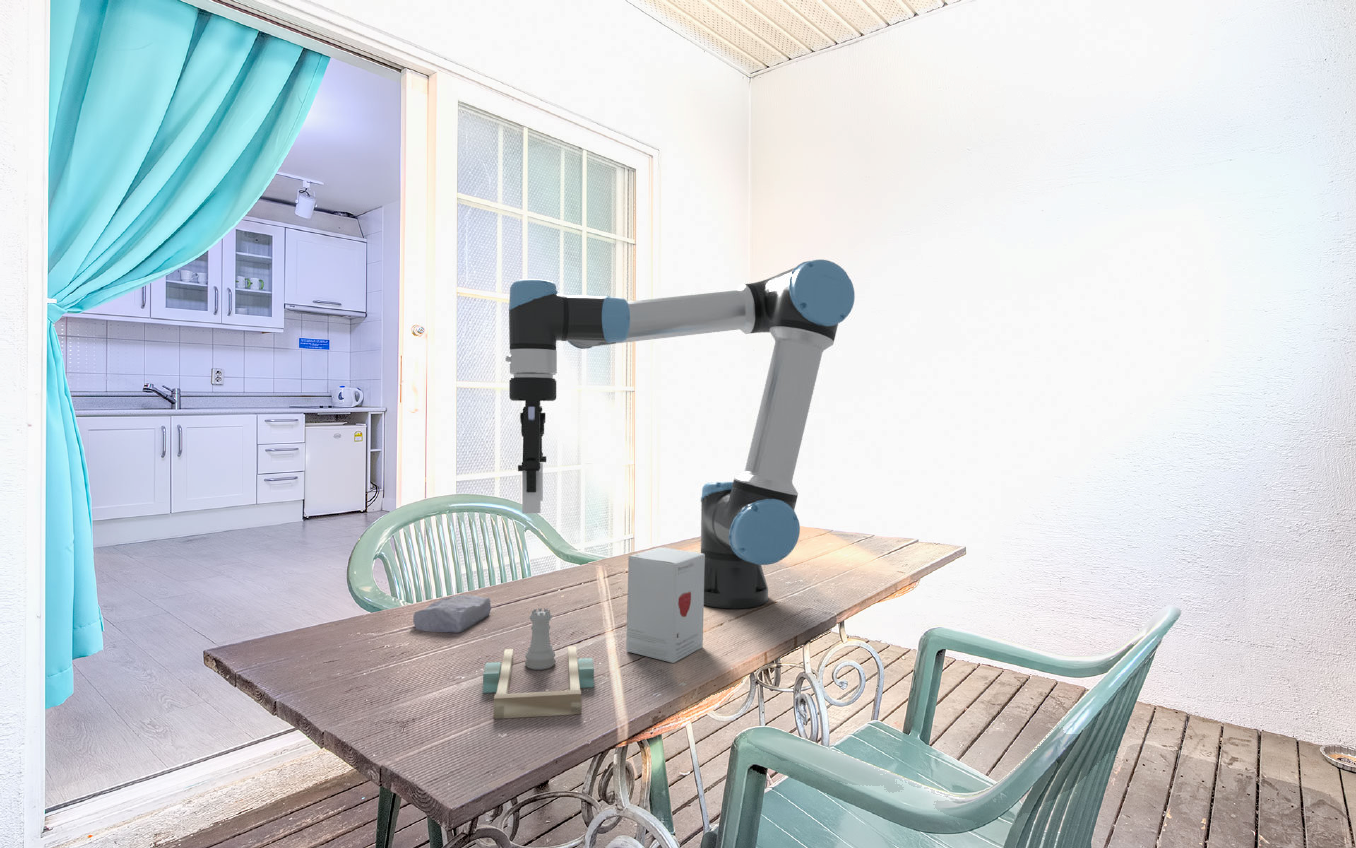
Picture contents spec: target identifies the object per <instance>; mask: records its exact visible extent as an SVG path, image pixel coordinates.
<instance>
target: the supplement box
mask: <svg viewBox="0 0 1356 848" xmlns="http://www.w3.org/2000/svg"><path fill="white" fill-rule="evenodd" d="M627 563H628V565H627V567H628V570H627V571H628V572H627V599H626V601H627V606H626V607H627V608H626V609H627V611H626V639H625V640H626V646H625V651H626V653H627V652H628V653H633V654H635V655H641V656H643V657H648V658H651V659H656V660H660V661H665V662H666V663H667V662H668V663H671V664H675V663H677V662H678V661H680V660H682V659H683V658H686V657H687V656H689V655H691V654H692V653H694V652H696V651H698V650H700V649H702V648H703V646H704V642H703V641H704V612H705V611H704V610H705V609H704V606H705V605H704V566H705V554H703V553H701V552H697V551H690V550H689V551H687V550H680V549H675V548H669V547H662V546H659V547H656V548H652V549H649V550H643V551H641V552H639V553H635V554H632V555H629V556H628V562H627Z"/></svg>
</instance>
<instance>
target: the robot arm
mask: <svg viewBox="0 0 1356 848" xmlns="http://www.w3.org/2000/svg"><path fill="white" fill-rule="evenodd" d="M855 295H856V294H855V289H854V284H853V282H852V279H851V278H850V276H849V275H848V272H846V271H845V269H844V268H843V267H842V266H841V265H839V264H837V263H836V262H833V261H831V260H829V259H814V260H808V261H803V262H801V263H800V264H798V265H796V266H795V267H793V268H790V269H788V270H785V271H783V272H781V273H778V274H777V275H773V276H771V277H768V278H767V279H764V280H761V281H756V282H751V283H742V284H740V285H739V286H738V287H737V289H736V290H727V291H717V292H707V293H697V294H687V295H679V296H669V297H659V298H651V299H649V298H647V299H638V300H631V301H627V299H625V298H623V297H614V296H610V295H606V296H600V295H599V296H594V295H566V294H561V293H558V290H557V285H556V283H554V282H553V281H550V280H543V279H537V278H535V279H534V278H532V279H529V278H528V279H519V280H518V279H517V280H516V281H514V282H512V284H511V285H510V287H509V301H508V306H509V307H508V319H509V320H508V325H509V327H508V330H509V332H508V334H509V338H508V339H509V354H510V355H506V357H505V361H506V362H507V363H508V362H510V363H509V374H510V375H513V377H511V378H510V379H509V381H508V382H509V384H508V385H509V387H508V388H509V399H510V401H517V402H518V401H519V402H524V401H525V403H524V406H523V408H522V412H520V413H519V421H520V424H521V426H520V428H521V429H520V431H521V437H522V462H521V464H518V465H517V472H522V473H521V477H522V479H521V480H522V481H521V484H522V486H521V487H522V488H521V489H522V491H521V493H522V500H521V502H522V515H523V514H541V502H543V500H544V496H543V495H544V493H543V492H544V490H543V488H544V485H543V483H544V481H543V480H544V479H543V477H544V476H543V475H544V474H543V470H544V465H543V464H544V463H547V455H546V456H544V453H543V437H544V435H545V424H546V412H545V411H543V406H542V405H541V402H542V401H543V402H551V401H552V402H555V400H556V399H557V380H556V378H554V376H556V374H558V370H557V367H558V366H557V363H558V360H557V358H558V357H557V354H558V353H557V341H559V342H560V341H561V342H567V343H569V344H570V345H571V346H572V347H574V348H577V349H581V350H585V349H586V350H588V349H592V348H593V347H600V346H608V345H614V344H615V345H616V344H623V343H631V342H634V343H635V342H640V341H642V342H643V341H649V340H659V339H667V338H668V339H669V338H676V337H677V338H678V337H686V336H694V335H701V334H709V333H711V334H712V333H720V332H728V331H737V330H740V331H741V332H742V333H744V334H746V335H748V334H757V333H758V334H759V333H761V334H762V333H770V335H771V337H772V338H773V339H774V341H775V342H774V346H773V351H772V355H771V359H770V364H769V368H768V372H767V376H766V380H765V384H764V389H763V392H762V396H761V401H760V405H759V409H758V414H757V417H756V418H757V419H756V422H755V426H754V430H753V435H752V439H751V443H750V448H749V451H748V455H747V459H746V464H745V468H744V471H743V472H740V474H738V475H737V476H736V477H734V478H733V481H720V482H718V481H716V482H715V481H714V482H706V483H704V484H703V486H702V488H701V496H700V503H701V504H700V505H701V507H700V508H701V509H700V510H701V513H700V514H701V516H700V519H701V520H700V553H703V554H705V566H704V606H707V607H712V608H719V609H751V608H756V607H759V606H762V605H764V604H766V603H767V602H768V600H769V587H768V584H767V583H768V582H767V580H766V577H765V573H764V571H763V570H764V569H763V566H768V565H772V564H777V563H778V562H781V561H782V560H784V559H785V558H787V557H788V556H789V555H790V554H791V553H792V551H793V550H794V548H796V546H797V544H798V542H799V541H798V540H799V537H800V534H801V533H800V531H801V527H800V526H801V525H800V520H799V518H798V516H797V514H796V512H795V511H796V510H795V508H796V504H797V502H798V501H797V500H798V495H799V492H798V491H797V489H796V487H795V486H794V484H793V480H794V475H795V471H796V466H797V463H798V458H799V454H800V449H801V445H802V440H803V435H804V432H805V429H806V428H805V427H806V425H807V420H808V415H809V411H810V407H811V403H812V398H813V394H814V391H815V386H816V382H817V377H818V373H819V369H820V365H821V359H822V356H823V353H824V352H825V350H827V349H829V348H830V347H832V346H833V345H834V342H835V339H836V336H837V330H838V326H839V324H841V322H843V321H845V320H846V318H847V317H848V316H849V315H850V313H851V311H853V310H852V309H853V307H854V303H855V298H856V297H855Z"/></svg>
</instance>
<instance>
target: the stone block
mask: <svg viewBox="0 0 1356 848" xmlns="http://www.w3.org/2000/svg"><path fill="white" fill-rule="evenodd" d="M491 610H492V605H491V599H490V597H482V596H476V595H473V594H472V595H470V594H459V595H455V596H450V597H449V596H448V597H444V598H441V599H439V600H438V601H434V602H433V603H431V604H429V605H428V606H427V607H426V608H423V609H419V610H417V611H416V612H414V614H413V620H412V622H413V624H414V627H415V629H416V630H419V631H424V632H440V633H441V632H443V633H453V634H459V633H462V632H464V631H465V630H467V629H469V628H470V627H472V626H473V625H475V624H477V623H478V622H480V621H481V620H484V619H485V618H487V617H488V616H489V615H490V613H491Z"/></svg>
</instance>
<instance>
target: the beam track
mask: <svg viewBox="0 0 1356 848" xmlns="http://www.w3.org/2000/svg"><path fill="white" fill-rule="evenodd" d="M503 652H504V653H503V659H502V661H497V662H486V663H485V665H484V669H483V673H482V693H483V694H487V693H488V694H489V693H495V694H494V696H493V720H500V719H501V720H502V719H517V718H535V717H551V716H567V715H568V716H569V715H570V716H571V715H582V690H581V688H582V689H585V688H594V687H595V686H594V684H595V683H594V681H595V679H594V678H595V668H594V667H595V666H594V659H593V657H590V658H589V657H585V658H578V654H577V646H575V645H574V646H573V645H572V646H571V645H570V646H567V665H568V669H567V670H568V683H569V686H568V687H569V690H556V691H555V690H554V691H553V690H552V691H551V690H550V691H537V692H535V691H534V692H519V693H518V692H517V693H515V692H514V693H509V688H510V682H511V681H510V680H511V675H512V670H513V669H512V668H513V662H514V649H513V648H506V649H504V651H503Z"/></svg>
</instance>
